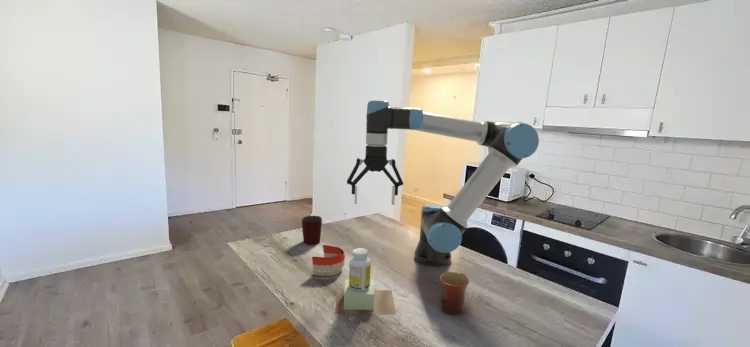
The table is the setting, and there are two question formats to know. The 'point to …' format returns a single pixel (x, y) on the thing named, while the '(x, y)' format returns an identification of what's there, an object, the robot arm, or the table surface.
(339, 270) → the denture model
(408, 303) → the table surface
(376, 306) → the plate
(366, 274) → the pill bottle
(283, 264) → the table surface
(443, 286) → the mug
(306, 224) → the mug
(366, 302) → the brick
